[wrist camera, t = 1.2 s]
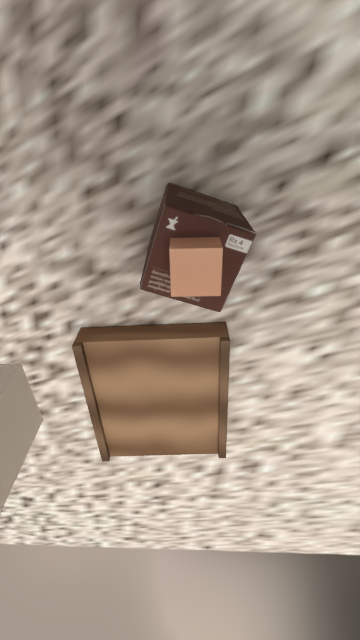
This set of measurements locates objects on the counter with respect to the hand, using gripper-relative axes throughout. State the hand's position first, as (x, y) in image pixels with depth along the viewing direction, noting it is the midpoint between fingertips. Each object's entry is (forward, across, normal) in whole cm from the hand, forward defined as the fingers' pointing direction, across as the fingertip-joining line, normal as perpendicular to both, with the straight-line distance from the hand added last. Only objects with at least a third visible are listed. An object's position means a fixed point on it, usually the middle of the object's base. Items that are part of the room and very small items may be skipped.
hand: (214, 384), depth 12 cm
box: (+19, 0, 0) cm, 19 cm away
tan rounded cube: (+11, 0, 0) cm, 11 cm away
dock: (+18, -5, -17) cm, 25 cm away
